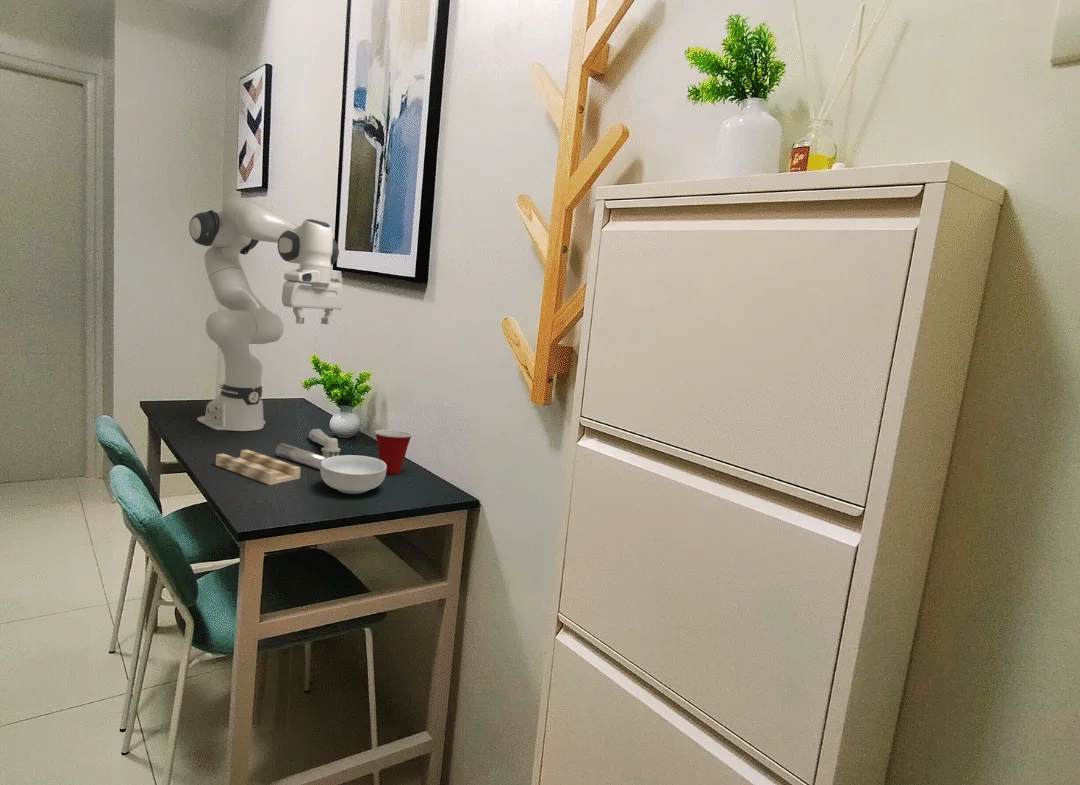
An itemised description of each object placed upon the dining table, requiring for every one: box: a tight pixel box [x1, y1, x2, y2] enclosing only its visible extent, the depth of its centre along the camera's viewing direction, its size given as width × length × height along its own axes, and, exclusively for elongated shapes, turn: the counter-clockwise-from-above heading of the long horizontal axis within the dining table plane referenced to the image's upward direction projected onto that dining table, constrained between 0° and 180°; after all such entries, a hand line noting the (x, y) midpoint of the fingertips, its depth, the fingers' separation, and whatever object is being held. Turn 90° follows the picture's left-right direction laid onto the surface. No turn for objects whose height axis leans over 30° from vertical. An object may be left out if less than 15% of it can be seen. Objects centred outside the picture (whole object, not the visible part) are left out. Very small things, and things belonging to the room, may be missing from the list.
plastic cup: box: [374, 429, 414, 475], centre depth 193 cm, size 11×11×12 cm
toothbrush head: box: [308, 428, 341, 458], centre depth 208 cm, size 5×7×25 cm
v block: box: [215, 449, 301, 486], centre depth 179 cm, size 22×10×3 cm, turn 60°
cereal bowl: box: [319, 454, 387, 495], centre depth 174 cm, size 17×17×7 cm
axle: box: [275, 442, 328, 471], centre depth 192 cm, size 18×4×4 cm, turn 60°
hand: (312, 323), depth 196 cm, fingers open, 8 cm apart
